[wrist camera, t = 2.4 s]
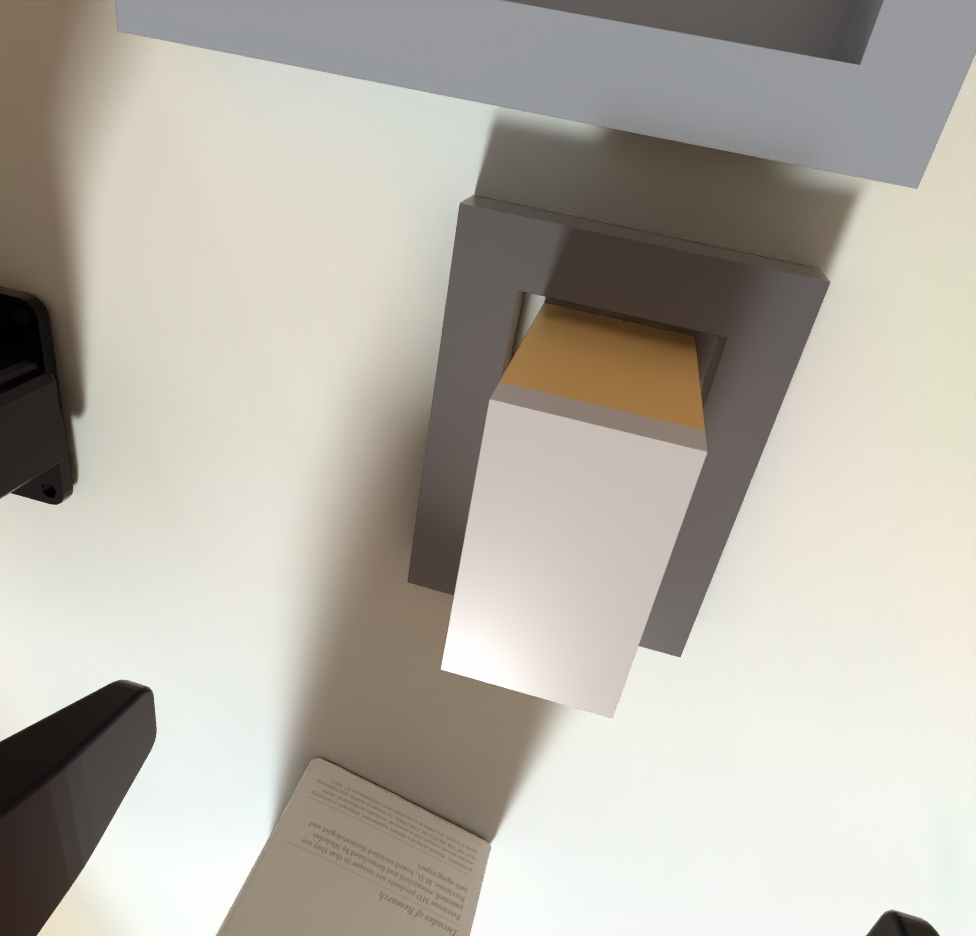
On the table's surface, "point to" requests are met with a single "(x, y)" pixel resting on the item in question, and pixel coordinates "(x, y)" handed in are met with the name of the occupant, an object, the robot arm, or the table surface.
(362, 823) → the supplement box
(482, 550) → the white and orange block
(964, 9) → the tray
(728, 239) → the table surface
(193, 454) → the table surface
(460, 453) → the holder
